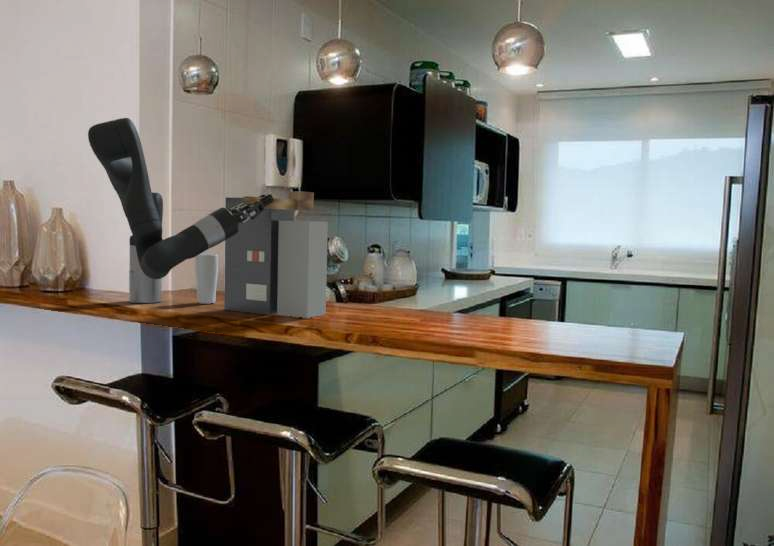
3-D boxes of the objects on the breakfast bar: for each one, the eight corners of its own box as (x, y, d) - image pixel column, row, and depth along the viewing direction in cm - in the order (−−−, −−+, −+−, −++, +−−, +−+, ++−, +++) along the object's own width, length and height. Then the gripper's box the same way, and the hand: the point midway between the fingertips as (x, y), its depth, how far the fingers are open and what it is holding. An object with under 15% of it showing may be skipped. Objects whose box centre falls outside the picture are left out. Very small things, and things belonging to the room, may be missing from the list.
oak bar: (250, 207, 164) (250, 187, 164) (241, 207, 168) (241, 188, 168) (313, 210, 176) (313, 192, 176) (303, 210, 180) (304, 192, 180)
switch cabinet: (222, 310, 184) (223, 197, 181) (248, 306, 194) (249, 199, 191) (267, 315, 176) (269, 197, 174) (292, 311, 187) (294, 199, 184)
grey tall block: (277, 315, 178) (278, 220, 176) (296, 311, 186) (298, 220, 184) (307, 318, 173) (309, 221, 171) (325, 314, 181) (327, 221, 179)
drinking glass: (214, 304, 195) (214, 255, 193) (191, 304, 195) (192, 254, 194) (220, 302, 201) (220, 254, 200) (198, 301, 202) (199, 253, 200)
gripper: (220, 215, 155) (276, 183, 164) (196, 215, 166) (250, 185, 174) (234, 242, 158) (288, 210, 166) (210, 240, 168) (262, 210, 177)
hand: (268, 197), depth 170 cm, fingers closed on oak bar, 3 cm apart
